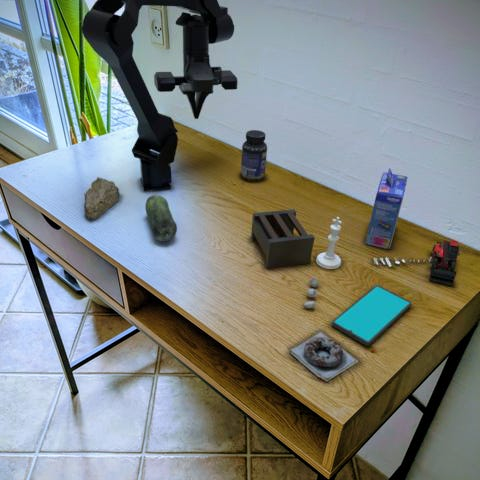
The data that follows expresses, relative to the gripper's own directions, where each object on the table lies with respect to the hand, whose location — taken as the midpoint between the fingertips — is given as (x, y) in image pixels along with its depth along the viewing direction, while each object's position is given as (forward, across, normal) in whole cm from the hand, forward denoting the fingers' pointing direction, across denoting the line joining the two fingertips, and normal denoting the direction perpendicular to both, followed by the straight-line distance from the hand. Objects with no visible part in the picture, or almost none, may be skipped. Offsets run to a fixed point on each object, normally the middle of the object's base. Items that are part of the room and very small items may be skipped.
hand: (196, 118), depth 120 cm
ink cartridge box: (+12, +32, -41) cm, 53 cm away
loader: (+12, +38, -54) cm, 67 cm away
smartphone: (+12, +17, -65) cm, 68 cm away
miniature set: (+12, +31, -51) cm, 61 cm away
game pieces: (+11, +10, -58) cm, 60 cm away
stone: (+8, -27, -16) cm, 33 cm away
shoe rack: (+12, +8, -42) cm, 44 cm away
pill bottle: (+12, +13, -9) cm, 20 cm away
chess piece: (+12, +16, -48) cm, 52 cm away
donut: (+12, +5, -72) cm, 73 cm away
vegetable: (+10, -16, -29) cm, 35 cm away
